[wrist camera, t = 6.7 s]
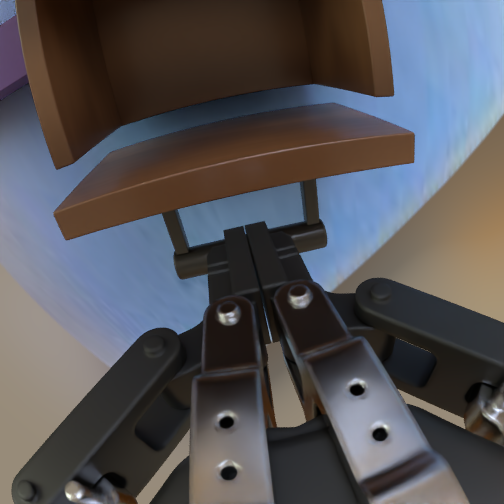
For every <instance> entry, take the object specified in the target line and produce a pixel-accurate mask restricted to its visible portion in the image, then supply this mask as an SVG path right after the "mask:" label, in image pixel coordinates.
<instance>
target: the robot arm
mask: <svg viewBox="0 0 504 504" xmlns="http://www.w3.org/2000/svg"><path fill="white" fill-rule="evenodd" d="M245 230H246V234H247V239H248V243H247V239H246V235H245V231H244V227H243V226H240V227H236V228H231V229H227V230H223V231H224V238H225V244H223V245H219V246H214V247H212V248H211V250H210V252H209V253H208V255H207V267H208V268H207V271H208V288H209V304H210V305H209V306H208V307H207V309H206V310H205V313H204V317H203V321H202V322H201V323H200V324H198V325H197V326H195V327H194V328H192V329H190V330H188V331H186V332H184V333H182V334H179V335H177V333H176V332H175V331H173V330H171V329H169V328H155V329H152V330H150V331H147V332H146V333H144V334H143V335H141V336H140V337H139V338H138V339H137V340H136V341H135V342H134V344H133V345H132V346H131V347H130V348H129V349H128V350H127V351H126V352H125V353H124V354H123V355H122V357H121V358H120V359H119V360H118V361H117V362H116V363H115V364H114V365H113V366H112V367H111V369H110V370H109V371H108V372H107V373H106V374H105V375H104V376H103V377H102V378H101V380H100V381H99V382H98V383H97V384H96V385H95V386H94V387H93V388H92V390H91V391H90V392H89V393H88V394H87V395H86V396H85V397H84V398H83V400H82V401H81V402H80V403H79V404H78V405H77V406H76V407H75V408H74V409H73V411H72V412H71V413H70V414H69V415H68V416H67V417H66V419H65V420H64V421H63V422H62V423H61V424H60V425H59V427H58V428H57V429H56V430H55V431H54V432H53V433H52V434H51V436H50V437H49V438H48V439H47V440H46V441H45V443H44V444H43V445H42V446H41V447H40V448H39V449H38V451H37V452H36V453H35V454H34V455H33V456H32V458H31V459H30V460H29V461H28V462H27V463H26V464H25V466H24V467H23V468H22V469H21V470H20V471H19V473H18V474H17V475H16V477H15V478H14V480H13V483H12V498H13V501H14V504H138V503H137V500H136V497H137V495H138V494H139V493H140V492H141V491H142V490H143V488H144V487H145V486H146V485H147V483H148V482H149V481H150V480H151V478H152V477H153V476H154V475H155V473H156V472H157V471H158V470H159V468H160V467H161V466H162V464H163V463H164V462H165V461H166V459H167V458H168V457H169V455H170V454H171V452H172V451H173V450H174V449H175V448H176V446H177V445H178V443H179V442H180V441H181V440H182V438H183V437H184V436H185V434H186V433H187V432H188V430H189V429H190V452H189V456H188V457H187V458H185V459H184V460H183V461H182V462H181V463H180V464H179V465H178V466H177V467H176V468H175V469H174V470H173V472H172V473H171V474H170V476H169V477H168V479H167V480H166V481H165V483H164V484H163V486H162V487H161V488H160V490H159V491H158V493H157V494H156V495H155V497H154V498H153V499H152V501H151V502H150V504H504V323H503V322H500V321H498V320H495V319H493V318H490V317H488V316H485V315H482V314H480V313H477V312H475V311H472V310H470V309H467V308H464V307H462V306H459V305H457V304H454V303H451V302H448V301H446V300H443V299H441V298H438V297H435V296H433V295H430V294H427V293H424V292H422V291H419V290H417V289H414V288H411V287H409V286H406V285H403V284H401V283H398V282H395V281H392V280H389V279H385V278H372V279H368V280H366V281H364V282H362V283H361V284H360V285H359V286H358V288H357V289H356V293H350V294H336V293H330V292H327V291H324V289H323V288H322V287H321V286H320V285H319V284H318V283H316V282H313V280H312V278H311V276H310V274H309V272H308V270H307V268H306V266H305V264H304V262H303V260H302V258H301V256H300V255H299V252H298V250H297V248H296V246H295V244H294V242H293V240H292V238H291V237H290V236H289V235H287V234H286V233H284V232H283V231H280V232H275V233H271V234H270V233H269V231H268V228H267V226H266V223H265V221H262V222H257V223H253V224H249V225H245ZM248 244H249V246H248ZM249 248H250V250H249ZM250 253H251V254H250ZM263 306H264V307H263ZM264 310H265V312H264ZM265 313H266V316H265ZM266 317H267V321H268V325H269V329H270V332H271V336H272V340H273V343H274V342H278V341H280V343H281V347H282V350H283V356H284V361H285V364H286V366H287V369H288V372H289V374H290V377H291V380H292V382H293V385H294V387H295V390H296V393H297V395H298V398H299V400H300V403H301V405H302V408H303V411H304V415H305V419H306V423H304V424H302V425H300V426H297V427H289V428H287V427H286V428H285V427H283V428H282V427H281V428H280V427H277V424H276V419H275V413H274V406H273V398H272V391H271V384H270V376H269V369H268V364H267V362H268V354H267V350H266V346H265V345H266V344H270V343H271V340H270V336H269V331H268V326H267V321H266ZM396 337H397V338H396ZM398 338H399V339H398ZM400 339H401V340H400ZM403 340H404V341H403ZM405 341H406V342H405ZM407 342H408V343H407ZM410 343H411V344H410ZM412 344H413V345H412ZM414 345H415V346H414ZM417 346H418V347H417ZM419 347H420V348H419ZM421 348H422V349H421ZM424 349H425V350H424ZM426 350H428V351H429V352H428V351H426ZM398 389H399V390H402V391H404V392H406V393H408V394H410V395H412V396H415V397H417V398H419V399H421V400H424V401H426V402H428V403H430V404H433V405H435V406H437V407H439V408H441V409H444V410H446V411H448V412H451V413H453V414H455V415H458V416H460V417H462V418H464V423H465V429H463V428H461V427H459V426H457V425H455V424H453V423H450V422H448V421H446V420H444V419H442V418H440V417H438V416H436V415H434V414H432V413H430V412H428V411H426V410H424V409H421V408H419V407H416V406H413V405H410V404H406V403H405V401H404V399H403V398H402V396H401V394H400V393H399V391H398Z"/></svg>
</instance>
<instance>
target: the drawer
mask: <svg viewBox="0 0 504 504" xmlns="http://www.w3.org/2000/svg"><path fill="white" fill-rule="evenodd" d="M15 5H16V14H17V22H18V29H19V35H20V41H21V47H22V52H23V57H24V62H25V67H26V71H27V76H28V80H29V84H30V88H31V92H32V96H33V100H34V103H35V107H36V111H37V114H38V117H39V121H40V124H41V127H42V131H43V134H44V137H45V140H46V143H47V146H48V149H49V152H50V154H51V157H52V160H53V163H54V166H55V168H56V170H58V169H61V168H63V167H66V166H68V165H71V164H73V163H75V162H76V161H77V160H78V159H79V158H81V157H82V156H83V155H84V154H86V153H87V152H88V151H89V150H91V149H92V148H93V147H94V146H96V145H97V144H98V143H99V142H101V141H102V140H103V139H105V138H106V137H107V136H109V135H110V134H111V133H113V132H114V131H115V130H117V129H118V128H120V127H121V126H124V125H127V124H130V123H133V122H136V121H139V120H142V119H145V118H148V117H152V116H155V115H158V114H162V113H165V112H169V111H172V110H176V109H180V108H184V107H188V106H192V105H196V104H200V103H204V102H208V101H213V100H217V99H222V98H227V97H231V96H236V95H242V94H247V93H253V92H258V91H264V90H271V89H277V88H285V87H292V86H300V85H309V84H317V85H323V86H328V87H333V88H339V89H343V90H348V91H353V92H357V93H361V94H366V95H370V96H374V97H390V96H394V86H393V75H392V65H391V56H390V48H389V40H388V33H387V27H386V20H385V15H384V9H383V4H382V0H15ZM414 143H415V135H414V133H413V132H411V131H409V130H406V129H404V128H402V127H399V126H397V125H394V124H392V123H389V122H387V121H384V120H382V119H379V118H377V117H374V116H371V115H368V114H366V113H363V112H360V111H357V110H354V109H352V108H349V107H346V106H343V105H339V104H336V103H325V104H317V105H309V106H301V107H294V108H287V109H281V110H275V111H269V112H263V113H257V114H252V115H247V116H242V117H237V118H232V119H227V120H222V121H218V122H214V123H209V124H205V125H201V126H197V127H193V128H189V129H185V130H181V131H177V132H174V133H170V134H166V135H163V136H159V137H156V138H152V139H149V140H146V141H143V142H139V143H136V144H133V145H130V146H127V147H124V148H121V149H118V150H115V151H112V152H110V153H109V154H108V155H107V156H106V157H105V158H104V159H103V160H102V161H101V162H100V163H99V164H98V165H97V166H96V167H95V168H94V169H93V170H92V171H91V172H90V173H89V174H88V175H87V176H86V177H85V178H84V179H83V180H82V181H81V182H80V183H79V184H78V185H77V186H76V188H75V189H74V190H73V191H72V192H71V193H70V194H69V195H68V196H67V197H66V199H65V200H64V201H63V202H62V203H61V204H60V205H59V207H58V208H57V209H56V210H55V211H54V212H53V215H54V217H55V219H56V221H57V223H58V225H59V228H60V230H61V232H62V234H63V236H64V238H65V240H70V239H73V238H77V237H80V236H83V235H86V234H90V233H93V232H96V231H100V230H103V229H107V228H110V227H113V226H117V225H120V224H124V223H128V222H131V221H135V220H138V219H142V218H146V217H150V216H153V215H157V214H161V213H162V215H163V218H164V221H165V224H166V227H167V230H168V233H169V235H170V238H171V241H172V244H173V246H174V249H175V251H174V255H173V259H174V265H175V269H176V272H177V275H178V277H179V278H180V279H182V280H183V279H188V278H192V277H197V276H201V275H206V274H208V271H207V268H208V267H207V255H208V253H209V252H210V250H211V248H212V247H214V246H219V245H223V244H225V239H223V240H218V241H214V242H210V243H205V244H201V245H197V246H193V247H189V243H188V240H187V237H186V234H185V231H184V228H183V225H182V222H181V219H180V216H179V213H178V210H177V209H180V208H184V207H188V206H192V205H196V204H201V203H205V202H209V201H213V200H217V199H222V198H226V197H230V196H235V195H239V194H244V193H248V192H253V191H258V190H262V189H267V188H272V187H277V186H281V185H286V184H291V183H296V182H300V187H301V196H302V205H303V214H304V220H305V221H303V222H299V223H294V224H289V225H285V226H280V227H276V228H271V229H268V231H269V233H270V234H271V233H275V232H280V231H283V232H284V233H286V234H287V235H289V236H290V237H291V238H292V240H293V242H294V244H295V246H296V248H297V250H298V252H299V253H302V252H307V251H311V250H315V249H319V248H324V247H326V246H327V234H326V229H325V226H324V224H323V222H322V220H321V219H319V209H318V197H317V186H316V179H317V178H323V177H328V176H334V175H340V174H345V173H351V172H357V171H363V170H369V169H376V168H382V167H389V166H395V165H402V164H410V163H414ZM245 235H246V239H247V234H245ZM247 243H248V239H247ZM248 246H249V244H248ZM249 250H250V248H249ZM250 254H251V253H250Z"/></svg>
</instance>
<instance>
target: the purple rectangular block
mask: <svg viewBox="0 0 504 504" xmlns="http://www.w3.org/2000/svg"><path fill="white" fill-rule="evenodd" d="M27 83H29V80H28V76H27V71H26V67H25V62H24V57H23V52H22V47H21V41H20V35H19V29H18V22H17V15H15V16H13V17H12V18H10V19H9V20H8V21H6V22H5V23H3V24H2V25H0V100H2V99H3V98H5V97H6V96H8V95H9V94H11V93H13V92H14V91H16V90H17V89H19V88H21V87H22V86H24V85H26V84H27Z"/></svg>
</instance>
